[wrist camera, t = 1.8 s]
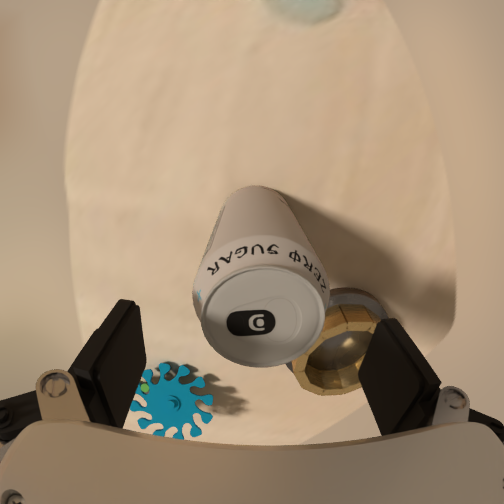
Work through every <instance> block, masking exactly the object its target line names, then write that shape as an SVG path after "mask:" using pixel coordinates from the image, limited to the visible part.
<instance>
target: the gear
mask: <svg viewBox="0 0 504 504" xmlns="http://www.w3.org/2000/svg"><path fill="white" fill-rule="evenodd" d="M170 369H171V366H170V365H169V364H165V363H160V364H159V370H160V380H159V382H158V384H153V383H152V381H151V379H152V376H153V371H152V370H151V369H148V370H144V372H143V374H142V377H143V378H144V379H145V380H146V381H147V383H145V382H143V381H140V382H139V385H138V387H137V390H136V394H139V395H140V396H142V397H143V398H144V400H145V401H146V402H147V406H146V407H143V406H141V404H140V403H139V402H138V401H136V400H133V401H132V403H131V406H130V410H131V411H134V412H135V411H145V412H147V413H149V414H151V415H152V420H148V419H146V418H140V419H139V420H138V424H139V426H140V428H141V429H145V428H146V427H147V426H148V425H150V424H153V423H161V424H162V425H163V427H164V428H163V429H159V430H156V431H155V432H154V433H153V435H157V436H163V437H164V436H165V432H166V431H167V430H168V429H169V428H170V427H173V426H174V427H176V428H177V429H178V432H177V433H175V434H174V435H173V438H176V439H183V440H184V436H183V434H182V427H183V425H184V424H185V423H190V424H191V426H192V428H191V431H190V434H191V436H192V437H196V436H199V435H201V434H202V431H201V429H200V428H199V427H198V426H197V425H196V424H195V423H194V420H193V414H194V413H199V414H200V415H201V418H202V421H203V422H204V423H206V424H207V423H209V422H210V421H211V419H212V418H213V416H212V414H211V413H208V412H204V411H202V410H200V409H199V408H198V407H197V406H196V404H195V401H196V400H198V399H200V400H202V401H203V402H204V403H205V404H206V405H212V402H213V395H211V394H207V395H202V396H200V395H196V394H193V393H191V392H190V387H191V386H196V387H199V388H203V387H204V386H205V382H204V380H203V378H202V377H197V378H196V379H195V380H194V381H193V382H191V383H189V384H181V383H180V382H179V378H180V377H181V376H186V375H188V374H189V373H190V370H189V369H188V368H187V367H185V366H184V365H181V366H180V367H179V370H178V373H177V375H176V377H175V378H174V379H172V380H171V381H168V380H166V379H165V374H166V373H167V372H169V371H170Z"/></svg>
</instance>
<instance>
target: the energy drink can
mask: <svg viewBox="0 0 504 504" xmlns="http://www.w3.org/2000/svg"><path fill="white" fill-rule="evenodd" d="M192 294H193V305H194V308H195V311H196V314H197V316H198V318H199V320H200V322H201V327H202V330H203V333H204V336H205V337H206V339H207V341H208V342H209V344H210V345H211V346H212V347H213V348H214V350H215V351H216V352H217V353H219V354H220V355H222V356H223V357H224V358H226V359H228V360H230V361H232V362H234V363H237V364H240V365H244V366H249V367H273V366H278V365H282V364H285V363H288V362H290V361H292V360H295V359H297V358H298V357H300V356H301V355H303V354H304V353H306V352H307V351H308V350H309V349H310V348H311V347H312V346H313V345H314V344H315V342H316V341H317V339H318V338H319V336H320V334H321V332H322V330H323V327H324V322H325V312H326V309H327V307H328V302H329V297H330V288H329V280H328V277H327V274H326V271H325V269H324V267H323V265H322V264H321V262H320V260H319V258H318V256H317V254H316V253H315V251H314V249H313V247H312V246H311V244H310V242H309V240H308V238H307V237H306V235H305V233H304V231H303V230H302V228H301V226H300V224H299V223H298V221H297V219H296V218H295V216H294V214H293V212H292V211H291V209H290V207H289V206H288V204H287V202H286V201H285V199H284V198H283V197H282V196H281V195H280V194H279V193H277V192H276V191H274V190H272V189H270V188H268V187H264V186H247V187H244V188H241V189H239V190H237V191H236V192H234V193H232V194H231V195H230V196H229V197H228V198H227V200H226V201H225V202H224V204H223V206H222V208H221V211H220V213H219V216H218V219H217V221H216V224H215V226H214V229H213V232H212V234H211V237H210V239H209V242H208V245H207V247H206V250H205V253H204V255H203V258H202V261H201V264H200V266H199V269H198V272H197V275H196V277H195V280H194V286H193V293H192Z"/></svg>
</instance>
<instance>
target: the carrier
mask: <svg viewBox="0 0 504 504" xmlns="http://www.w3.org/2000/svg"><path fill="white" fill-rule="evenodd" d="M384 318H388V316H387V314H386V312H385V310H384V309H383V307H382V306H381V305H380V303H379V302H378V301H377V299H376V298H374V297H373V296H372V295H371V294H369V293H367V292H365V291H363V290H359V289H355V288H337V289H331V290H330V297H329V302H328V307H327V309H326V312H325V322H324V327H323V330H322V332H321V334H320V336H319V338H318V339H317V341H316V342H315V344H314V345H313V346H312V347H311V348H310V349H309V350H308V351H307V352H306V353H304V354H303V355H301V356H300V357H298V358H297V359H295V360H292V361H290V362H288V363H285V364H286V365H287V367H288V368H289V369H290V370H291V371H292V372H293V373H294V375H295V377H296V378H297V380H298V382H299V384H300V386H301V387H302V388H303V389H305V390H308V391H310V392H312V393H315V394H317V395H321V396H325V395H342V394H343V393H344V394H346V393H348V392H351V391H354V390H356V389H358V388H361V387H362V386H361V383H360V381H359V378H358V371H359V368H360V366H361V363H362V361H363V359H364V356H365V354H366V351H367V349H368V346H369V343H370V341H371V338H372V336H373V333H374V330H375V328H376V325H377V323H378V322H380V321H381V320H382V319H384Z"/></svg>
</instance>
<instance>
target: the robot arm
mask: <svg viewBox="0 0 504 504" xmlns="http://www.w3.org/2000/svg"><path fill="white" fill-rule="evenodd" d="M145 366H146V353H145V346H144V339H143V331H142V323H141V315H140V307H139V306H138V305H136V304H135V302H134V301H130V300H124V299H120V300H119V301H118V302H117V303H116V305H115V306H114V308H113V309H112V310H111V312H110V313H109V315H108V316H107V317H106V319H105V320H104V322H103V323H102V324H101V326H100V327H99V329H96V330H95V331H94V332H93V334H92V335H91V337H90V338H89V340H88V341H87V343H86V344H85V346H84V347H83V349H82V350H81V351H80V353H79V354H78V356H77V357H76V359H75V361H74V362H73V364H72V365H71V367H70V368H69V370H68V371H64V370H60V369H54V370H50V371H47V372H45V373H43V374H42V375H41V376H40V377H39V378H38V380H37V382H36V390H35V391H31V392H28V393H25V394H22V395H18V396H15V397H11V398H8V399H5V400H1V401H0V504H504V426H503V424H502V423H501V422H500V421H498V420H497V419H494V418H492V417H489V416H487V415H485V414H482V413H480V412H477V411H475V410H472V409H470V408H469V407H470V403H469V402H470V401H469V398H468V396H467V395H466V393H465V392H463V391H462V390H461V389H459V388H457V387H454V386H447V387H444V388H443V389H440V388H439V386H440V384H441V381H440V379H439V378H438V377H437V375H436V373H435V372H434V371H433V369H432V368H431V366H430V365H429V363H428V362H427V360H426V359H425V357H424V356H423V355H422V353H421V352H420V350H419V349H418V348H417V346H416V345H415V343H414V342H413V341H412V339H411V338H410V337H409V335H408V334H407V333H406V331H405V330H404V328H403V327H402V326H401V324H400V323H399V322H398V320H397V319H395V318H384V319H382V320H381V321H380V322H378V323H377V325H376V328H375V330H374V333H373V336H372V338H371V341H370V343H369V346H368V349H367V351H366V354H365V356H364V359H363V361H362V363H361V366H360V368H359V371H358V378H359V381H360V383H361V386H362V388H363V390H364V393H365V395H366V398H367V400H368V403H369V405H370V407H371V410H372V412H373V415H374V417H375V420H376V423H377V425H378V428H379V430H380V433H381V435H382V436H378V437H372V438H367V439H360V440H352V441H344V442H334V443H323V444H309V445H283V446H259V445H233V444H219V443H208V442H198V441H190V440H183V439H176V438H169V437H163V436H157V435H151V434H146V433H141V432H136V431H131V430H126V429H122V428H123V425H124V423H125V420H126V417H127V414H128V411H129V409H130V406H131V403H132V401H133V398H134V395H135V393H136V390H137V387H138V385H139V382H140V379H141V377H142V374H143V372H144V369H145Z"/></svg>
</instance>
